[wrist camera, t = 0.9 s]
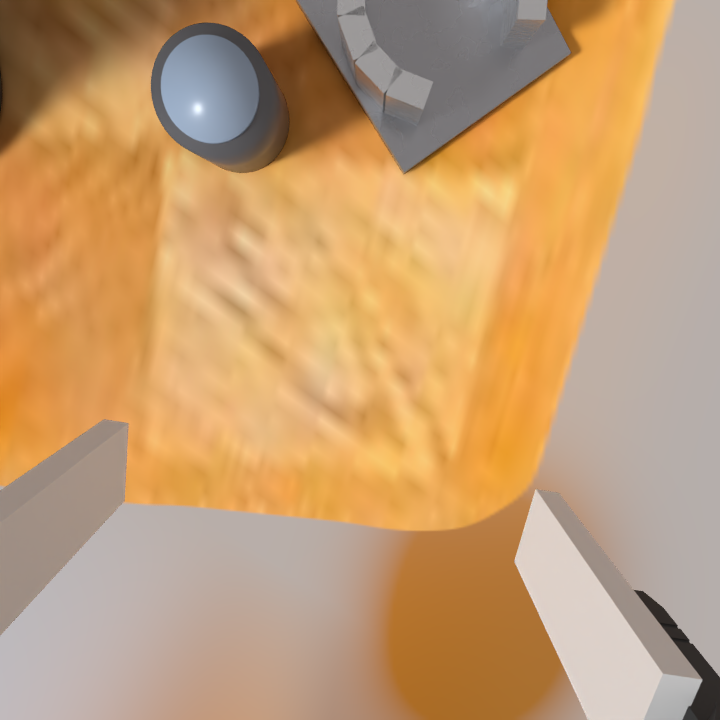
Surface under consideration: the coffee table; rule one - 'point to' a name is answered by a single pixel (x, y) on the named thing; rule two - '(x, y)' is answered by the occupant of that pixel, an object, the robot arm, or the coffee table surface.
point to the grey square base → (434, 62)
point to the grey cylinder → (219, 98)
